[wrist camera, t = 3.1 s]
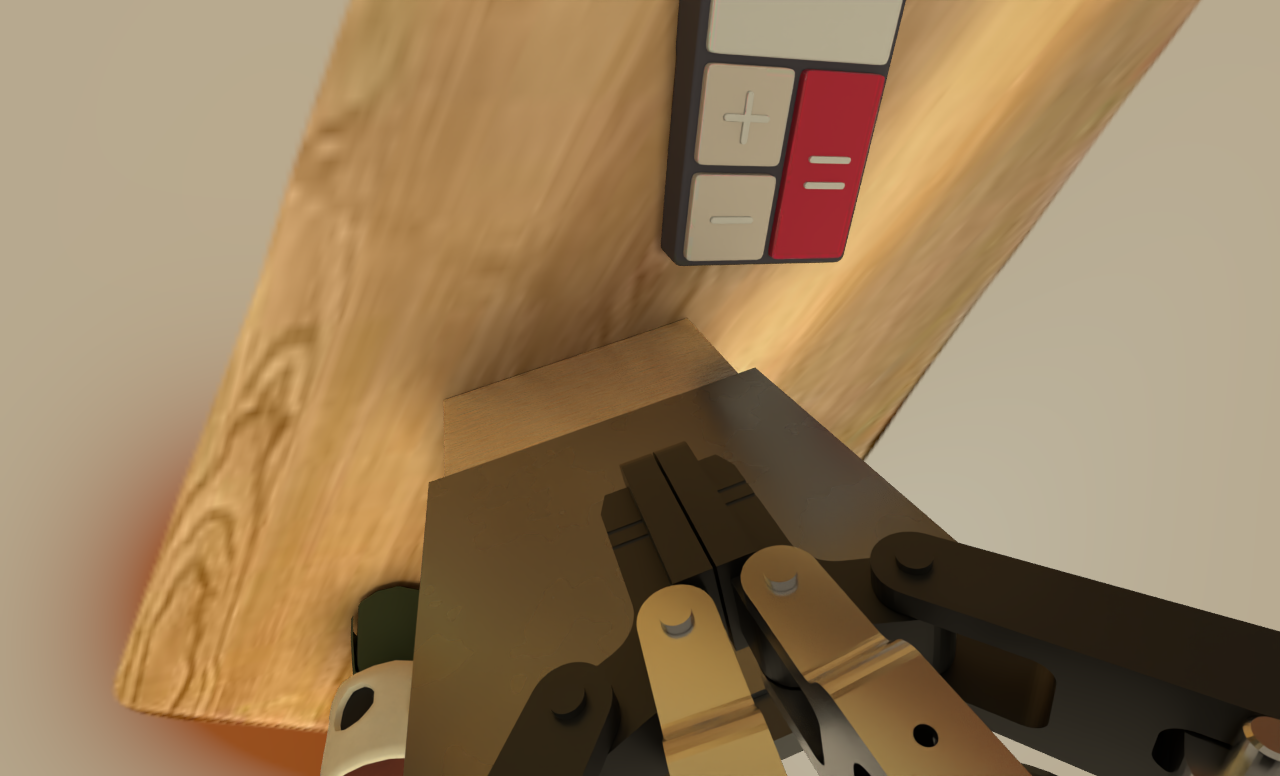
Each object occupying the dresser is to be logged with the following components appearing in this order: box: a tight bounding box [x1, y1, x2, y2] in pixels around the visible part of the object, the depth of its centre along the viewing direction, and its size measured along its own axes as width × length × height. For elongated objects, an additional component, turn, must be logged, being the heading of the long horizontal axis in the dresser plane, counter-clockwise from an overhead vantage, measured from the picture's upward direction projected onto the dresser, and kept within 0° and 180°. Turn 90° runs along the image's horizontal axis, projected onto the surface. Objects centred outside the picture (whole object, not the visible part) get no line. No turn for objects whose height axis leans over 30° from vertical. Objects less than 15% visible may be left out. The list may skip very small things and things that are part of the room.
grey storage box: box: [443, 318, 738, 477], centre depth 39 cm, size 16×16×10 cm
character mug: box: [320, 586, 419, 776], centre depth 40 cm, size 11×7×13 cm, turn 146°
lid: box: [403, 368, 958, 776], centre depth 23 cm, size 18×17×1 cm
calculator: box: [661, 0, 906, 266], centre depth 35 cm, size 11×4×15 cm
